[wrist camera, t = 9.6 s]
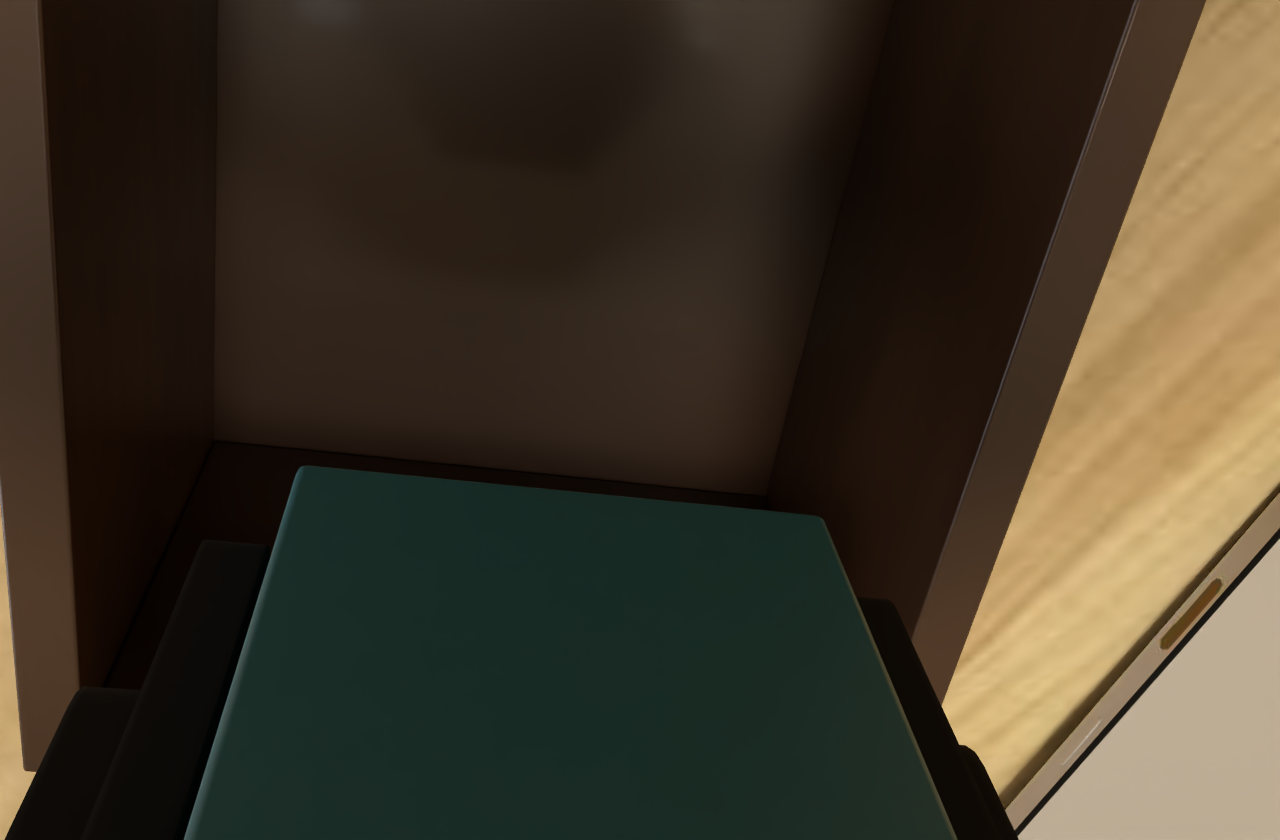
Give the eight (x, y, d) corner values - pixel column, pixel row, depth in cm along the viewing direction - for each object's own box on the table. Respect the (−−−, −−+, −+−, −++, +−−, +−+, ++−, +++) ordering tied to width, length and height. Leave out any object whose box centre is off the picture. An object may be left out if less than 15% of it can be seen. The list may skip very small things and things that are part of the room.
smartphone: (1589, 547, 28) (1170, 965, 33) (1550, 521, 29) (1150, 931, 34) (1373, 422, 25) (960, 893, 31) (1339, 399, 26) (945, 858, 32)
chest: (786, 510, 26) (899, 823, 18) (180, 450, 24) (22, 772, 16) (1010, -320, 19) (1350, -379, 11) (175, -505, 17) (-110, -734, 9)
